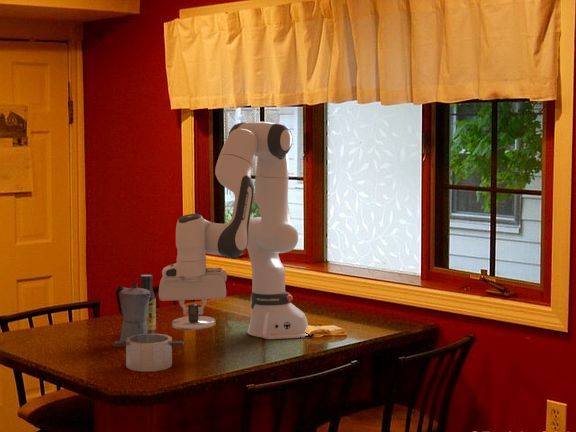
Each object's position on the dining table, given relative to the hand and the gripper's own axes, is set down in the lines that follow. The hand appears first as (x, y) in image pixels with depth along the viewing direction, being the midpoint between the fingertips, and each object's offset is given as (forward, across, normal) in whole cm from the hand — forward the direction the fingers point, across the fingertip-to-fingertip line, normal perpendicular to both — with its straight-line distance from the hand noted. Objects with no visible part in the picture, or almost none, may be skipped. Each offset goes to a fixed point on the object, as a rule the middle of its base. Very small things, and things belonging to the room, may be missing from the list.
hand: (193, 313), depth 284 cm
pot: (+13, +13, +9) cm, 20 cm away
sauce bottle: (+14, +18, -32) cm, 39 cm away
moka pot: (+14, +21, -18) cm, 31 cm away
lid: (+3, 0, 0) cm, 3 cm away
